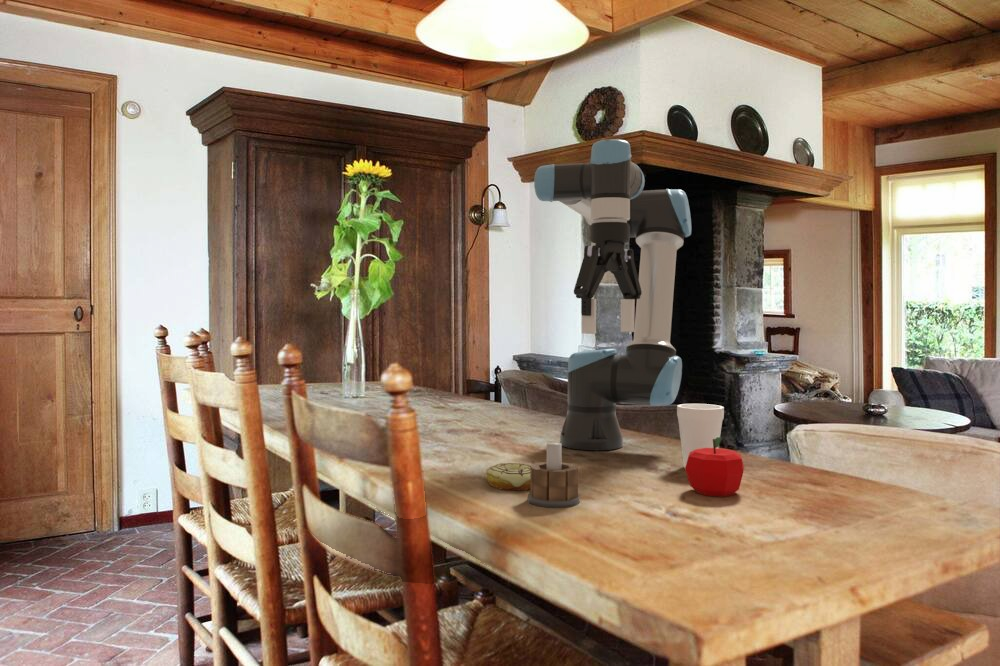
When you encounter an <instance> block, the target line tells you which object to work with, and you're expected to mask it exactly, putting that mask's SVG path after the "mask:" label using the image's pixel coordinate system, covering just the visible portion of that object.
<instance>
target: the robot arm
mask: <svg viewBox="0 0 1000 666" xmlns="http://www.w3.org/2000/svg"><path fill="white" fill-rule="evenodd" d="M631 151H632V150H631V145H630V143H629V142H628V141H627V140H625V139H614V138H613V139H602V140H598V141H595V142H594V143H593V144H592V147H591V152H590V160H589V162H577V163H558V164H554V163H552V164H546V165H541V166H538V168H537V169H536V171H535V174H534V178H533V179H534V182H533V183H534V185H533V186H534V187H533V188H534V192H535V196H536V198H537V199H538V201H541V202H550V203H553V202H560V203H562V204H563V205H565V206H567V207H568V208H569V209H571V210H573V211H574V212H576V213H577V214H579V215H581V216H582V217H583V218H584V219H585V222H586V223H587V225H589V226H590V227H589V229H590V230H589V231H590V232H589V233H590V234H589V235H590V239H589V241H590V242H591V243H592V244H593V245H585V246H584V251H583V258H582V262H581V265H580V268H579V271H578V275H577V279H576V282H575V284H574V285H575V286H574V289H573V295H575V297H576V299H581V305H580V306H581V307H580V308H581V312H580V313H581V334H583V335H584V334H587V335H588V334H592V335H594V334H595V335H597V298H594V297H595V295H596V292H597V290H598V289H599V286H600V284H601V283H602V280H603V278H604V276H605V274H606V273H607V272H610V273H611V274H612V275H613V276H614V278H615V282H616V283H617V285H618V287H619V290H620V292H621V295H622V296H623V299H620V333H621V332H622V333H633V340H632V341H631V342H630V343H628V344H627V345H626V347H625V348H626V349H625V354H618V351H617V349H616V348H604V349H594V350H586V351H579V352H578V351H577V352H573V353H572V354H570V356H569V357H568V362H567V363H568V365H567V371H566V374H567V413H566V417H565V419H564V423H563V425H562V429H561V432H560V435H559V443H561V444H562V447H564V448H568V449H573V450H582V451H608V450H609V451H610V450H616V449H620V448H622V447H623V446H624V445H623V444H624V442H623V441H624V437H623V434H622V430H621V426H620V423H619V421H618V417H617V414H616V412H617V411H616V410H617V405H616V404H622V405H624V404H625V405H640V406H641V405H642V406H651V407H657V406H670V405H671V404H673V403H674V402H675V400H676V398H677V396H678V393H679V390H680V386H681V381H682V377H683V376H682V375H683V361H682V360H683V359H682V358H681V357H680V356H678V355H677V349H676V348H675V346H673V345H672V344H671V335H672V334H671V333H672V319H673V303H674V291H675V290H674V289H675V276H676V264H677V263H676V262H677V251H678V250H679V249H680V248H682V247H683V246H684V242H685V241H684V240H685V238H688V237H690V236H691V235H692V218H691V210H690V205H689V199H688V196H687V194H686V193H687V192H685V191H684V190H682V189H679V188H678V189H676V188H675V189H672V188H671V189H669V188H666V189H654V190H653V189H650V190H644V187H645V182H646V180H645V176H644V172H643V171H642V169H641V167H639V166H638V164H636V163H634V162H632V159H631V158H632V157H633V155H632V154H631ZM631 238H632V239H633V238H635V243H636V245H638V247H639V248H640V260H639V270H638V271H639V272H637V268H636V263H635V255H634V254H635V253H634V249H632V248H629V249H628V248H626V249H625V246H624V245H625V244H628V243H629V241H630V240H631ZM635 302H636V303H635ZM635 304H636V306H635Z"/></svg>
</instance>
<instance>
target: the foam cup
mask: <svg viewBox="0 0 1000 666" xmlns="http://www.w3.org/2000/svg"><path fill="white" fill-rule="evenodd" d="M676 417H677V419H678V427H679V437H680V445H681V453H682V461H683V468H684V469H685V467H686V464H687V460H688V456H689V452H691V451H694V450H696V449H702V448H713V439H716V438H717V437H719V438H721V433H722V432H721V431H722V425H723V421H724V418H725V407H724V406H722V405H717V404H709V403H708V404H707V403H682V404H677V406H676ZM719 446H720V445H719ZM719 446H718V447H717V448H718V449H719Z"/></svg>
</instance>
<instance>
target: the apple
mask: <svg viewBox="0 0 1000 666" xmlns="http://www.w3.org/2000/svg"><path fill="white" fill-rule="evenodd" d="M722 440H723V437H720V438H719V437H717V438H716V439H713V448H702V449H696V450H694V451H691V452H689V456H688V460H687V464H686V467H685V468H684V470H685V471H684V472H685V473H686V476H687V479H688V482H689V485H690V487H691V488H692V489H693V490H694V491H695V492H696V493H697V494H700V495H703V496H706V497H728V496H729V497H730V496H733V495H734V494H735V493H736V492H738V490H739V489H740V487H741V483H742V479H743V475H744V471H745V465H744V460H743V457H742V455H741V454H740V453H739V452H737V451H736V450H731V449H726V448H719V447H718V446H720V442H721V441H722ZM717 447H718V448H717Z"/></svg>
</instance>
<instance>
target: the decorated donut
mask: <svg viewBox="0 0 1000 666" xmlns="http://www.w3.org/2000/svg"><path fill="white" fill-rule="evenodd" d="M485 473H486V474H485V476H486V477H485V478H486V480H487V482H488V483H489V485H490V486H491V487H493V488H496V489H500V490H509V491H511V490H514V491H518V490H519V491H526V489H527V490H530V464H526V463H519V462H518V463H517V462H503V463H502V462H501V463H497V464H495V465H491V466H489V467H488V468H486V469H485Z"/></svg>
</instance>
